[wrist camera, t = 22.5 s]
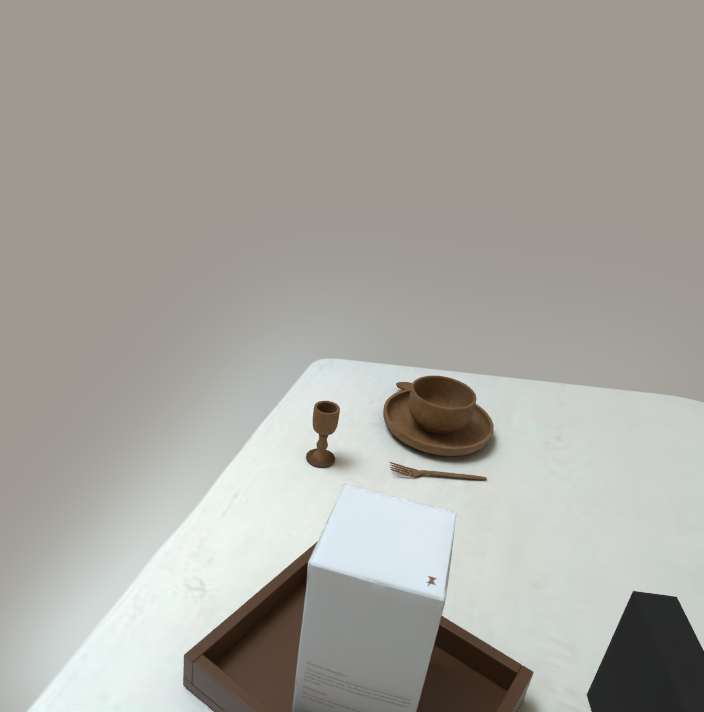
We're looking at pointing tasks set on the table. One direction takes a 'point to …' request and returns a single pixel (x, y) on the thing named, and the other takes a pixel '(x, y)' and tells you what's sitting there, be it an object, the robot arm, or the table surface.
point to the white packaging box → (372, 604)
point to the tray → (281, 647)
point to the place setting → (419, 422)
